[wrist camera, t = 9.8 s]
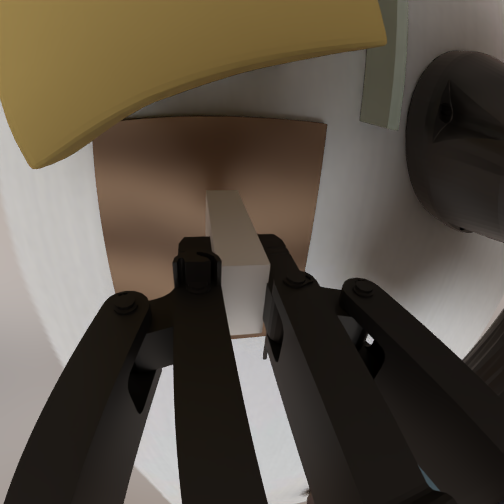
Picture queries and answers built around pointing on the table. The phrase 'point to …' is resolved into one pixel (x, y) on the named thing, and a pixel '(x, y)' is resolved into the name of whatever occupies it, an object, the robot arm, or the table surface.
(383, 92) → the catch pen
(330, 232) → the table surface
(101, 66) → the cheese
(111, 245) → the serving board
